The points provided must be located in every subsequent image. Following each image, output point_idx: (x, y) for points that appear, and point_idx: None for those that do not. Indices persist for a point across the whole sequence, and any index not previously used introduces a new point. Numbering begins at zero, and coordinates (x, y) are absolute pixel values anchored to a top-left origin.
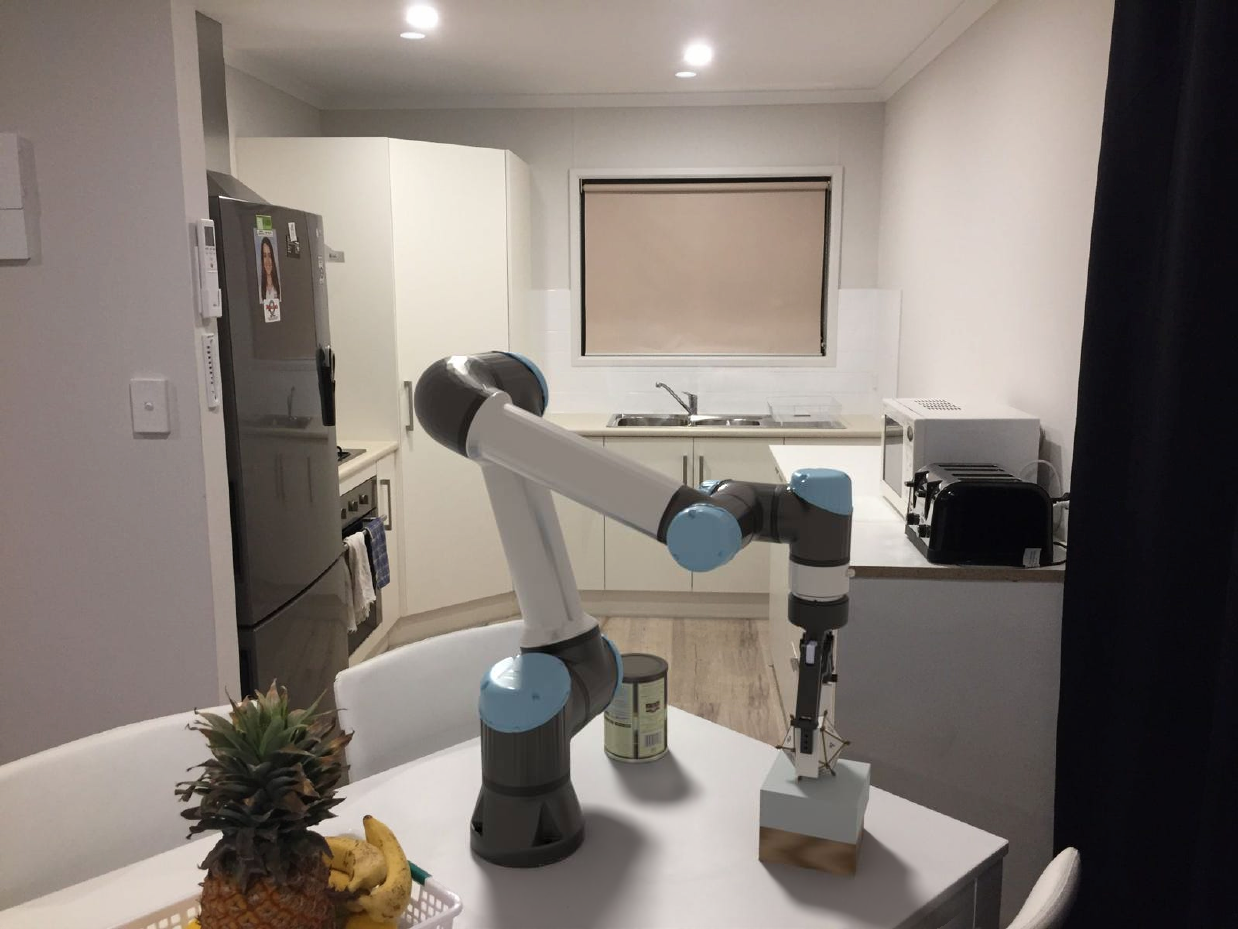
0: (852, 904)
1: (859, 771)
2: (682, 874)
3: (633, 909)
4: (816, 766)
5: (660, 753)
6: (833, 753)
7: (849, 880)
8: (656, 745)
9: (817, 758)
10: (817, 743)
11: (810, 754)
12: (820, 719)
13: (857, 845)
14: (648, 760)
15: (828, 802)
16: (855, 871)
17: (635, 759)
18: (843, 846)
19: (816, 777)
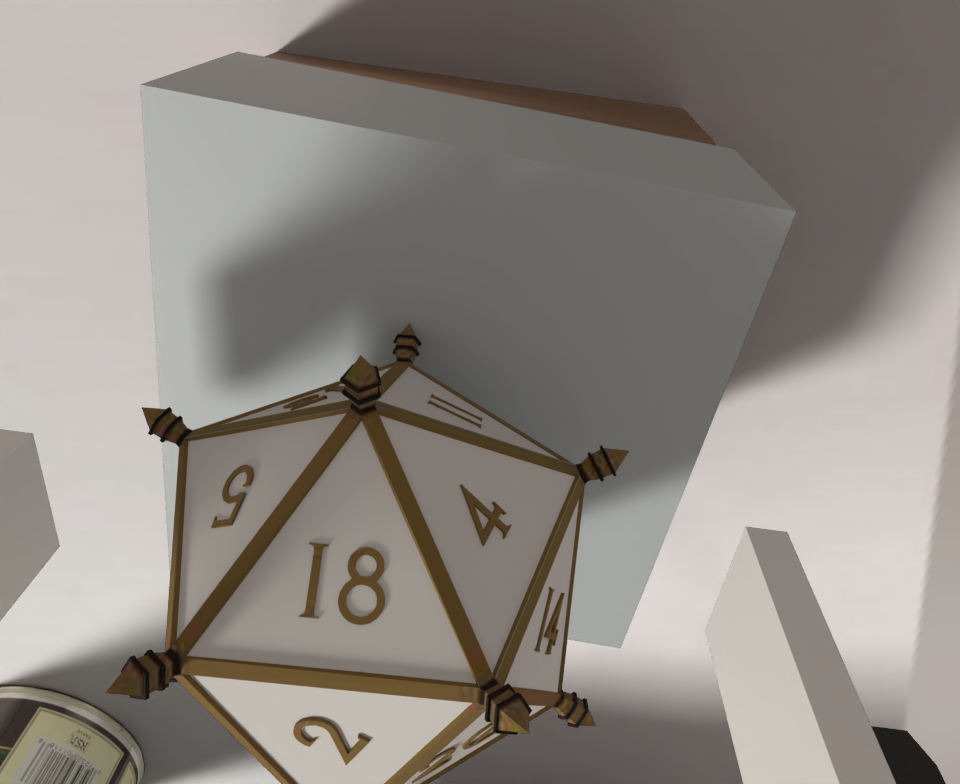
0: (883, 127)
1: (288, 172)
2: (699, 618)
3: (864, 698)
4: (809, 600)
5: (64, 710)
6: (499, 464)
7: (710, 134)
8: (63, 746)
9: (833, 648)
10: (882, 772)
11: (899, 738)
12: (275, 696)
13: (629, 121)
14: (111, 724)
15: (728, 370)
16: (676, 111)
17: (129, 752)
18: None
19: (786, 539)
